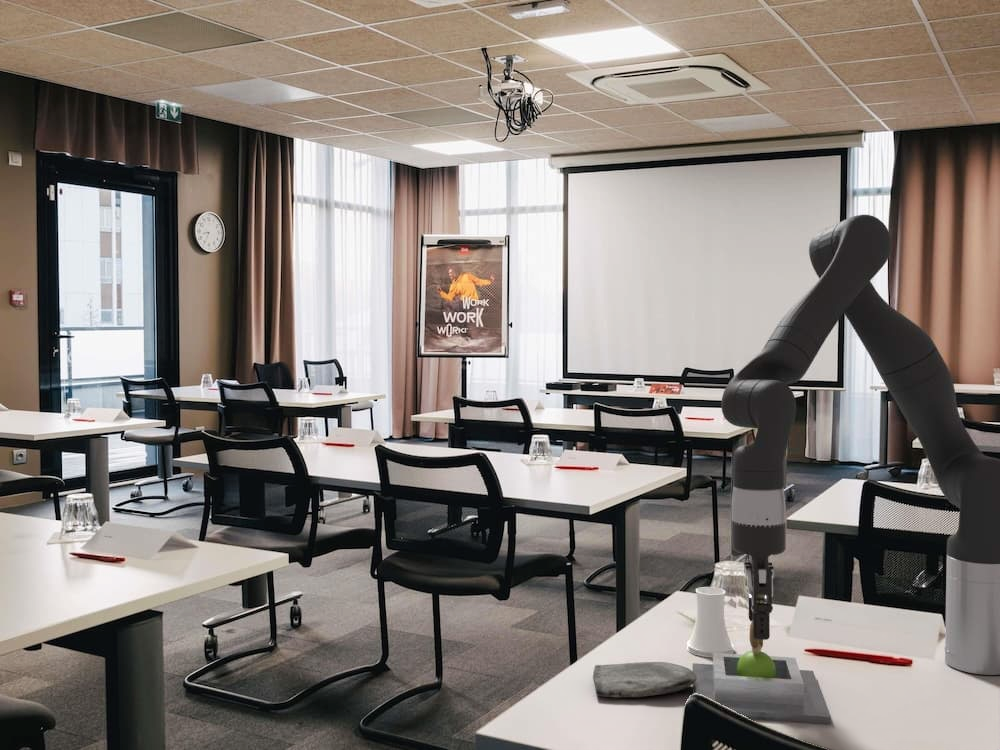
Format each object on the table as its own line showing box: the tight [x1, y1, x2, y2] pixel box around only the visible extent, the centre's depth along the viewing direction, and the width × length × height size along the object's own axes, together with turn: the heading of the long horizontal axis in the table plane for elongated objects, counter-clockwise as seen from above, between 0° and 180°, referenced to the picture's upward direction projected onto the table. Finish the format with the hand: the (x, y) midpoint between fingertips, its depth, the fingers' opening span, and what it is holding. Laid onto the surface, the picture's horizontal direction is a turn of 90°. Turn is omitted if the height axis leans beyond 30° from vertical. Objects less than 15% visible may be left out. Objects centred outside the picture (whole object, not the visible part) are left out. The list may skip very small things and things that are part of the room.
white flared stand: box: [686, 586, 734, 658], centre depth 158 cm, size 8×8×10 cm
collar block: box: [692, 653, 831, 725], centre depth 139 cm, size 18×18×4 cm
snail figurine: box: [737, 600, 776, 678], centre depth 139 cm, size 5×6×12 cm
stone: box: [592, 661, 696, 699], centre depth 141 cm, size 11×4×15 cm
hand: (758, 629), depth 138 cm, fingers open, 8 cm apart
